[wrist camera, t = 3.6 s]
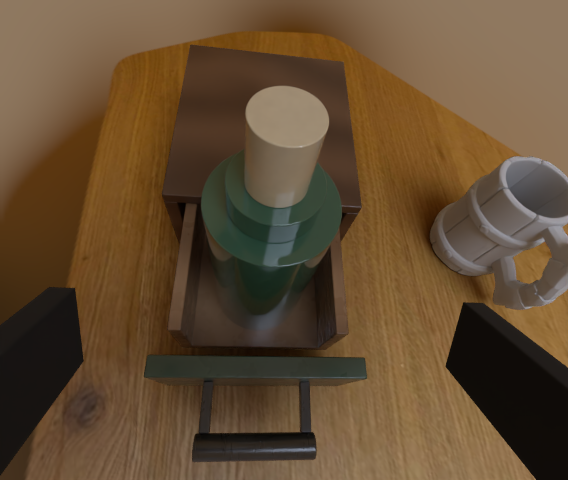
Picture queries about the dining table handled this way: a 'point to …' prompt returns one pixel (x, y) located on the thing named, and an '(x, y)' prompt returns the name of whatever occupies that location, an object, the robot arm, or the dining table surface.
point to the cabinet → (231, 121)
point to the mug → (509, 230)
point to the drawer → (253, 369)
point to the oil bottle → (271, 209)
